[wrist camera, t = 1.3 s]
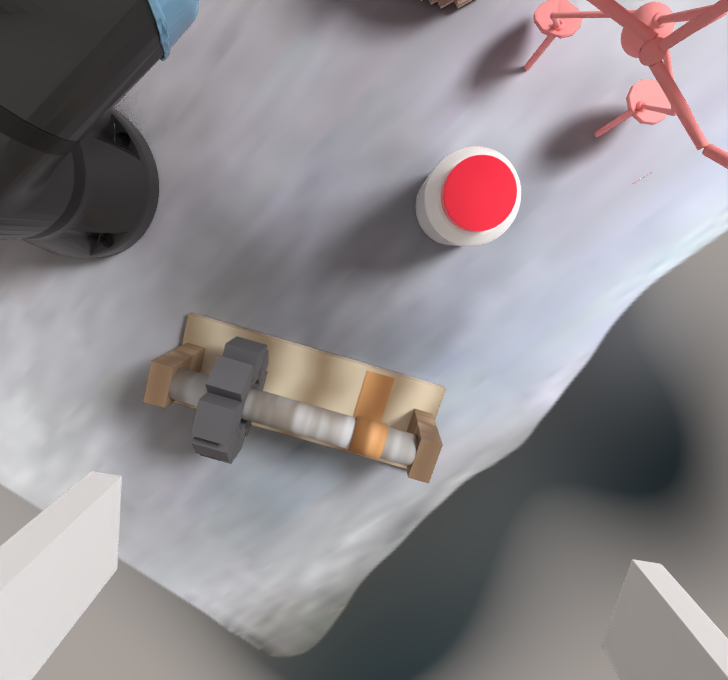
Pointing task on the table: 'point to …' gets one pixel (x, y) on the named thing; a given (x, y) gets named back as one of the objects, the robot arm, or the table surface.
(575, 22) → the figurine
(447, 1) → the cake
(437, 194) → the pill bottle
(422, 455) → the pipe rig
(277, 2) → the table surface
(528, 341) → the table surface
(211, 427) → the square-toothed gear
